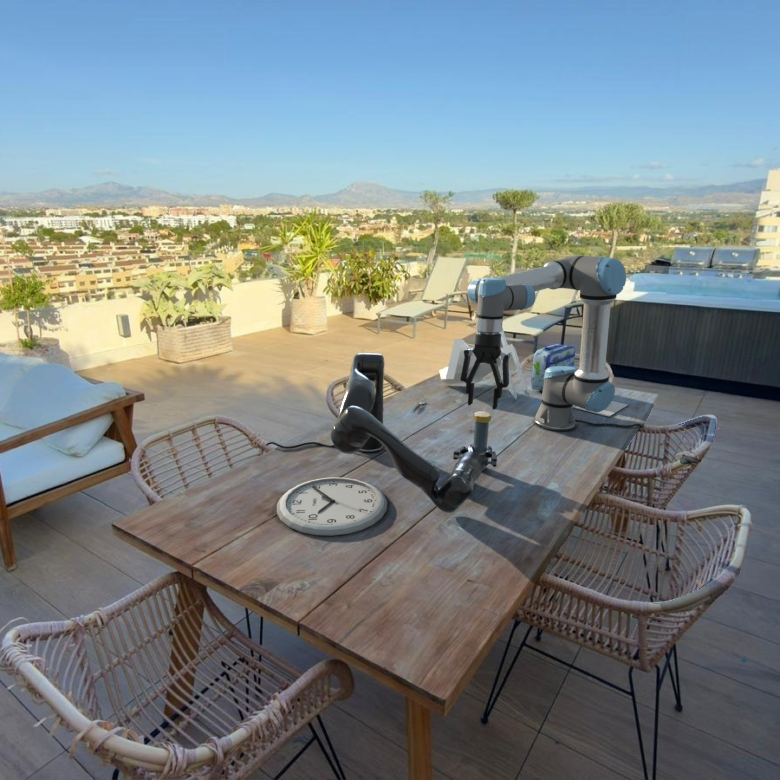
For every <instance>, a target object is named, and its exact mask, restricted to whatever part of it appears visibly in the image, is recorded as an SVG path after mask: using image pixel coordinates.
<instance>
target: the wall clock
mask: <svg viewBox="0 0 780 780" xmlns="http://www.w3.org/2000/svg"><path fill="white" fill-rule="evenodd" d="M387 509H388V500H387V498H386V496H385V494H384V493H383V492H382V491H381V490H380V489H379V488H377V487H376V486H374V485H372V484H371V483H369V482H365V481H362V480H359V479H355V478H349V477H338V476H337V477H335V476H333V477H332V476H331V477H322V478H317V479H312V480H307V481H305V482H302V483H299V484H297V485H295V486H293V487H292V488H290V489H288V490H287V491H286V492H285V493H284V494H283V495H281V496H280V498H279V499H278V502H277V503H276V515H277V517H278V518H279V520H280V521H281V522H282V523H283V524H285V525H286V526H287V527H288V528H290V529H293V530H295V531H297V532H299V533H303V534H308V535H312V536H327V537H328V536H329V537H331V536H332V537H333V536H342V535H350V534H352V533H356V532H361V531H363V530H366V529H368V528H369V527H372V526H373V525H375V524H376V523H378V522H379V521H380V520H381V519H382V518H383V517H384V516H385V514H386V512H387Z"/></svg>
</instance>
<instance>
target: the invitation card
mask: <svg viewBox="0 0 780 780" xmlns="http://www.w3.org/2000/svg"><path fill="white" fill-rule="evenodd" d="M628 406H629V404H627V403H623V402H618V401H614V400H612V401H611V403H610V404H609V406H608V407H607V408H606V409H605V410H603V411H601V412H593V411H588V410H586V409H583V408H580V407H577V406H574V407H573V409H575V410H581V411H584V412H587V413H593V414H596V415H600V416H604V417H608V418H609V417H611V416H613V415H614V414H616V413H617V412H619V411H621V410H623V409H624V408H626V407H628Z"/></svg>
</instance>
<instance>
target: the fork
mask: <svg viewBox="0 0 780 780" xmlns="http://www.w3.org/2000/svg"><path fill="white" fill-rule="evenodd" d="M427 399H428V397H424V396H422V397H421V398H420V400H419V402H418V403H419V404H417V405H416V406H415V408H413V412H415V411H416V410H419V408H420V406H421V405H425V404H426V403H427Z"/></svg>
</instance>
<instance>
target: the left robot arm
mask: <svg viewBox="0 0 780 780" xmlns="http://www.w3.org/2000/svg"><path fill="white" fill-rule="evenodd" d="M385 365H386V363H385V357H384V355H383V354H382V353H369V352H367V353H365V352H360V353H356V354H355V355H354V356H353V357H352V360H351V364H350V371H349V377H348V380H347V383H346V386H345V389H344V392H343V397H342V401H341V404H340V408H339V413H338V416H337V418H336V420H335V423H334V425H333V426H332V428H331V429H330V440H331V441H332V445H331V444H330V445H328V444H324V443H321V442H317V441H309V442H303V443H300V444H296V445H289V446H287V445H286V446H285V445H282V444H279V443H278V442H276V441H268V442H267V443H266V444H265V446H266V447H267V446H269V445H274V446H277V447H279V448H281V449H286V450H287V449H288V450H289V449H296V448H299V447H303V446H306V445H317V446H322V447H326V448H334V447H335V448H336V449H337V450H338V451H340V452H341V453H343V454H346V455H351V454H355V453H358V452H361V453H366V454H371V453H378V452H380V451H382V450H383V449H385V450H386V453H387V454H388V455H389V458H390V460H391V462H392V464H393V466H394V468H395V469H396V471H397V472H398V473H399V475H400V476H401V477H403V478H404V479H405V480H406V481H408V482H410V483H411V484H412V485H414V486H416V487H417V488H419V489H420V490H421V491H422V492H423V493H424V494H425V495H426V496H427V497H428V498H429V499H430V500H431V501H432V503H433V504H434V506H436V508H438V509H439V510H440V511H442V512H443V513H448V514H452V513H454V512H456V511H457V510H458V509H459V508H460V507H461V506H462V505H463V504H464V503H465V502H466V501H467V500H468V499H469V498H470V497H471V495H472V494H473V492H474V485H475V484H476V482H477V481H478V480H479V478H480V476H481V475H482V473H483V471H484V470H483V469H484V467H485V468H486V467H487V466H488V465H491V466H492V468H497V465H498V457H497V453H496V451H493V447H492V446H491V445H487V449H486V451H482V452H480V453H476V452H473V445H474V442H473V443H471V444H470V445H469V446H468V447H466V446H461V447H459V448H457V449H455V450H453V457H452V459H453V460H454V461H457V462H456V463H455V464H454V467H453V469H452V471H451V472H450V474H449V476H448V479H447V480H446V481H445V482H444V483H443V484H442V485H441V486H439V485H438V484H437V483H438V481H439V479H440V475H441V470H440V469H439V468H438V467H437V466H436V465H434V464H433V463H431V462H430V461H429V460H427V459H425V458H424V457H422V456H421V455H419V454H418V453H417V452H415V451H414V450H412V449H411V448H410V447H409V446H407V445H406V444H405V443H404V442H403V441H402V440H401V439H400V438H399V437H397V435H396V434H394V432H392V431H391V430H390V429H389V428H388V427H386V426H385V425H384V381H385Z"/></svg>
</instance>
